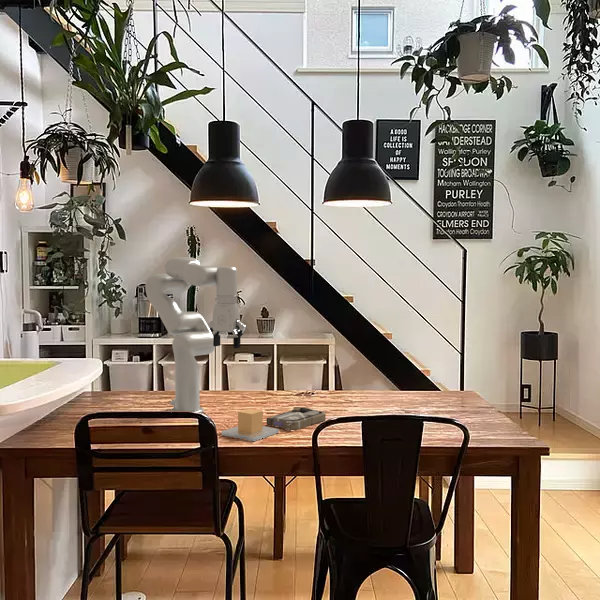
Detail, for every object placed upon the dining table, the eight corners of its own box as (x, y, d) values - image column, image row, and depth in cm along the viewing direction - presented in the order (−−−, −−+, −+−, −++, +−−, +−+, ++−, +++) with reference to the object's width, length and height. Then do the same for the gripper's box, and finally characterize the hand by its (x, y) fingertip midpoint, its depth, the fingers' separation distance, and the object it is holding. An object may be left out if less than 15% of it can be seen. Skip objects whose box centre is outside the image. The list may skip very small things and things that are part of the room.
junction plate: (221, 435, 228) (221, 418, 227) (247, 427, 239) (247, 410, 239) (253, 441, 220) (253, 423, 219) (278, 433, 231) (278, 416, 231)
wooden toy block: (238, 430, 228) (238, 411, 228) (249, 427, 233) (249, 408, 233) (251, 433, 225) (251, 414, 225) (262, 429, 230) (262, 410, 230)
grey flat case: (259, 416, 242) (292, 422, 233) (299, 404, 262) (331, 410, 253) (259, 426, 243) (292, 433, 234) (299, 414, 262) (330, 420, 253)
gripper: (202, 300, 244) (202, 346, 245) (238, 301, 234) (238, 350, 235) (216, 299, 250) (216, 344, 251) (251, 301, 240) (251, 347, 241)
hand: (226, 347), depth 243 cm, fingers open, 9 cm apart
